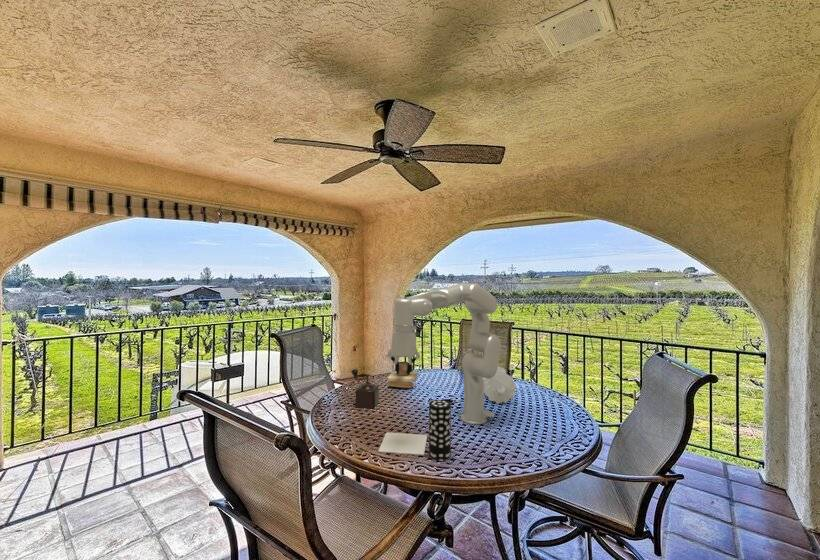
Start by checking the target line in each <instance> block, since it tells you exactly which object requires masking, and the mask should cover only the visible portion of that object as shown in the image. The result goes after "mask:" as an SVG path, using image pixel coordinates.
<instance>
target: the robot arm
mask: <svg viewBox="0 0 820 560" xmlns="http://www.w3.org/2000/svg"><path fill="white" fill-rule="evenodd" d="M495 297H496V296H494V295H493V294H491V293H490V292H489V291H488V290H486V289H485V288H484V287H483V286H481V285H479V284H477V283H473V282H472V283H469V282H467V283H466V282H461V283H457V284H454V285H451V286H447V287H445V288H441V289H435V290H431V291H426V292H421V293H418V294H415V295H411V296H408V297H406V298H398V299H395V302H394V331H393V332H392V336H391V348H390V350H389V352H387V354H386V356H387V358H389V359H390V360H392V362H393V363H394V364H395V365H394V371H397V373H396V374H398V373H399V362H400V361H399V359H400V358H407V359H408V361H407V362H408V375H409V374H410V372H412V365H413V363H415V362H416V361H417V360H418V359H421V354H420V353H419V351H418V350H417V336H416V332H415V330H416V331H417V326H416V325H414V317H415V316H418V317H427V316H428V315H430V314H431V313H432V312H433V311H432V310H433V309H444V308H449V307H451V306H454V305H457V304H458V305H459V304H460V303H463V302H464V305H465V307H466V309H467V310H468V312H469V314H470V316H471V321H472V322H471V323H472V324H471V328H470V334H469V339H468V346H469V348H470V349H471V350H473V351H476V352H479V353H483V354H482V355H481V354H478V353H474V352H470V353H467V354H465V355H464V356H463V357H462V361H461V365H462V366H461V367H462V368H461V369H462V372H463V413H461V415H460V420H461V421H462V422H463V423H466V424H470V425H483V424H485V423H487V422H488V418H495V413H494V412H491V411H486V410H485V393H484V380H483V377H484V378H492V377H494V376H495V374H496V372H497V368H498V366H499V362H500V355H501V348H502V342H501V339H500V337H499V336H497V334H494V333H490V325H491V321H490V317H489V315H491V314H494V313H495V312H496V311H497V309H498V301H497V299H496V298H495Z"/></svg>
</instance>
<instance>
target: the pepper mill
mask: <svg viewBox="0 0 820 560" xmlns="http://www.w3.org/2000/svg"><path fill="white" fill-rule="evenodd" d="M358 373H359V370H358V368H353V369H352V370H351V375H352V377H353V378H354V380H355V381H365V380H366V383H365V384H363V383H362V384H360V385H359V386H358V387H357V389H356V390H355V409H361V408H366V409H365V410H374V409H376V408H377V406H378V405H377V404H379V401H380V399H379V395H380V394H379V393H380V392H379V391H380V390H379V386H380V385H378V384H377V385H375V384H373V383H371V382H370V381H369V378H370V377H369V374H366V375H365V376H366V377H362V378H358V377H359V375H358ZM375 407H376V408H375Z"/></svg>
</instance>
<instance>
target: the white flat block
mask: <svg viewBox="0 0 820 560" xmlns="http://www.w3.org/2000/svg"><path fill="white" fill-rule="evenodd" d="M427 438H428V434H418V433H404V432H403V433H400V432H386V433H385V434H384V437H383V439H382V441H381V444H380V445H379V448H378V450H377V451H378V453H387V454H401V455H411V456H413V455H416V456H425V452H426V445H427Z"/></svg>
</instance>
